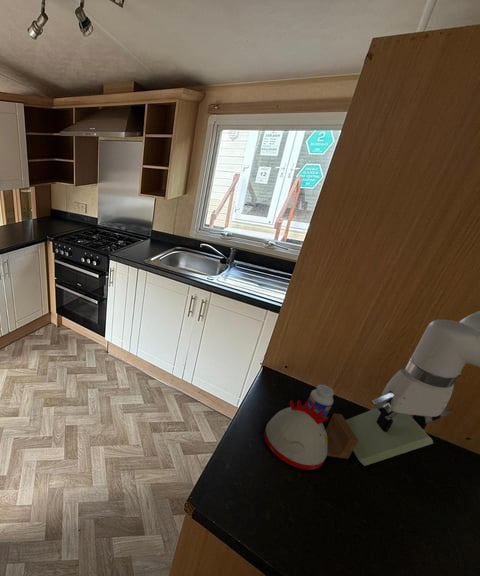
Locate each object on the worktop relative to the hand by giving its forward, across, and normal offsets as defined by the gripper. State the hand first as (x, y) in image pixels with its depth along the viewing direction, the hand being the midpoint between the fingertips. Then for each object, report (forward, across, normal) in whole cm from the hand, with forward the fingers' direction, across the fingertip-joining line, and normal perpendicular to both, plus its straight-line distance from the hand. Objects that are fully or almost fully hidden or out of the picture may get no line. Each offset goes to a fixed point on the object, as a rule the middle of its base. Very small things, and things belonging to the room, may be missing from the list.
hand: (397, 428), depth 77 cm
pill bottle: (+8, +13, -10) cm, 18 cm away
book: (+3, +2, 0) cm, 4 cm away
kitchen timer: (+8, +22, +2) cm, 24 cm away
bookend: (+8, +13, 0) cm, 15 cm away
